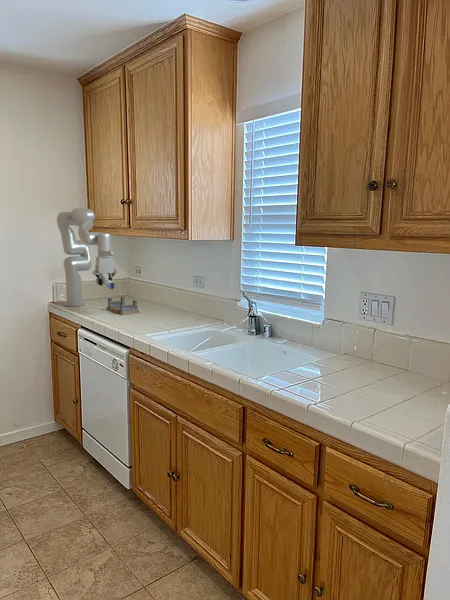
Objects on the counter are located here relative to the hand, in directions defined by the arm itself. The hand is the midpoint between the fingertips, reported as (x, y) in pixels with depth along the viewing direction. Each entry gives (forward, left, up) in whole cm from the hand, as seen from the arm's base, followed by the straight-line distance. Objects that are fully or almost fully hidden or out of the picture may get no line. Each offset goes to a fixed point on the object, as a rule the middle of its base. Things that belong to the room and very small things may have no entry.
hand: (105, 284), depth 270 cm
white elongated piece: (0, 0, -1) cm, 1 cm away
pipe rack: (0, +11, -17) cm, 20 cm away
